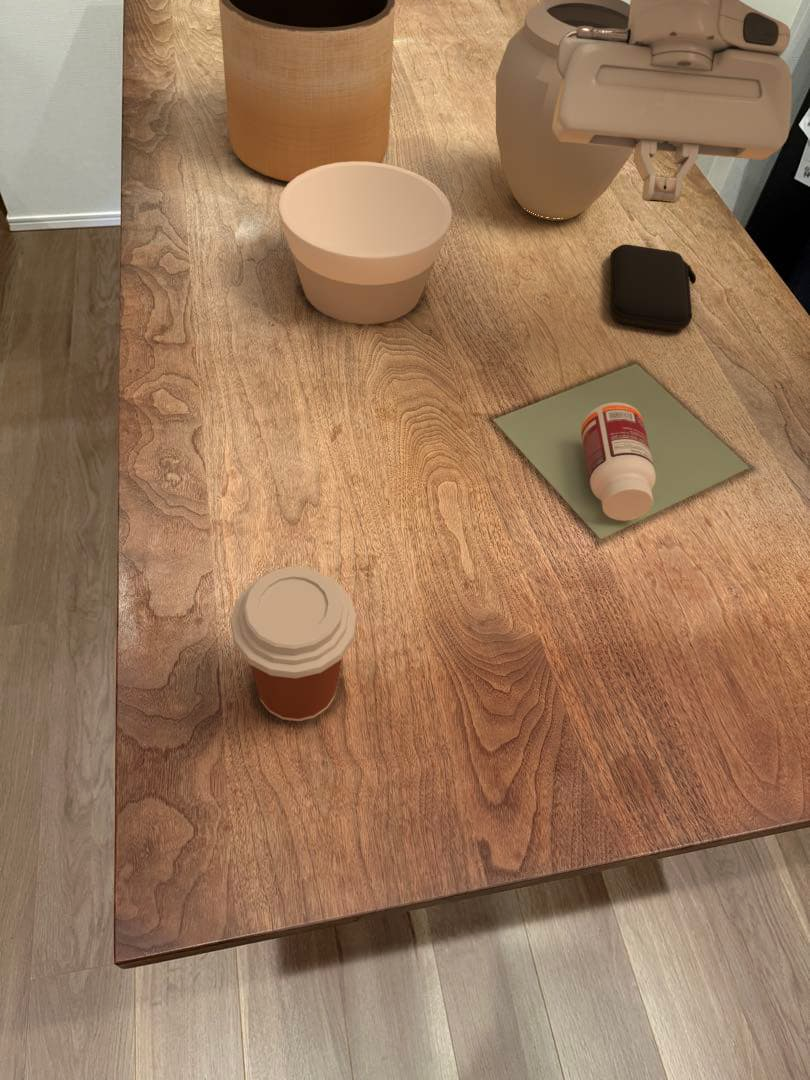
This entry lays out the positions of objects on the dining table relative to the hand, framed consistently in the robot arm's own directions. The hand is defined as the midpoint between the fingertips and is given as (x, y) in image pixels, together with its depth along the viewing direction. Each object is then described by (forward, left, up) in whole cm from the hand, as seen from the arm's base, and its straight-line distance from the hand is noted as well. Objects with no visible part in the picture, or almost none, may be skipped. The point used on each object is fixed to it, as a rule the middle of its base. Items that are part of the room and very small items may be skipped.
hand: (660, 200), depth 78 cm
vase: (-18, -33, -24) cm, 44 cm away
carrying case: (-17, -11, -24) cm, 31 cm away
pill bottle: (+4, +6, -20) cm, 21 cm away
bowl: (+14, -28, -24) cm, 39 cm away
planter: (+5, -59, -24) cm, 64 cm away
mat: (+3, +7, -23) cm, 25 cm away
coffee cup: (+45, +16, -24) cm, 53 cm away
